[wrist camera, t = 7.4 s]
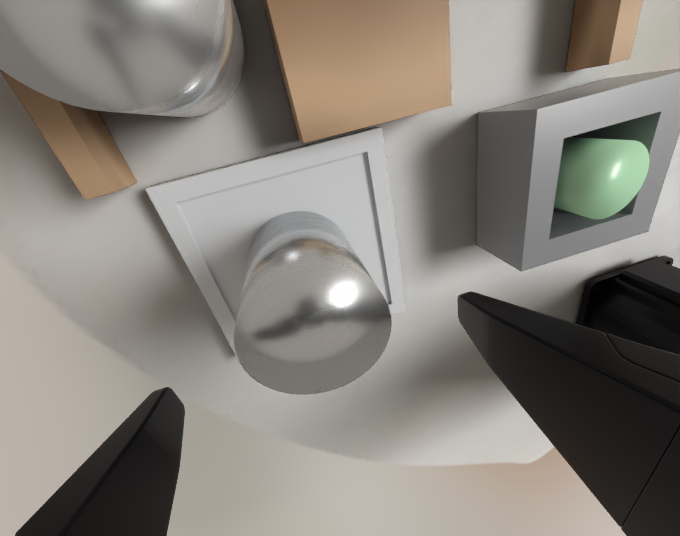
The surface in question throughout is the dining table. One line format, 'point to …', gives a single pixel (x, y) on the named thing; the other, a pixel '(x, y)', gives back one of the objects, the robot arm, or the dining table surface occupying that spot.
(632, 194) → the button
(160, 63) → the seated steel billet
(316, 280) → the loose steel billet
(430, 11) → the frame
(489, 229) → the button housing
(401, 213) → the dining table surface
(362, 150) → the tray
